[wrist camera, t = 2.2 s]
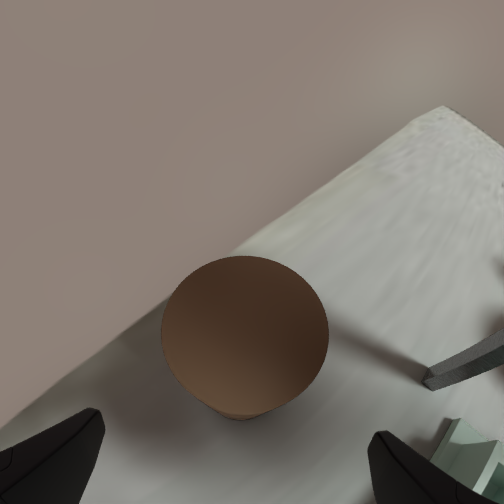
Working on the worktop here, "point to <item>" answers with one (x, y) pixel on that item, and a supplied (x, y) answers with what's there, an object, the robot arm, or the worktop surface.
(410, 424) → the worktop surface
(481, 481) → the socket block
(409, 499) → the robot arm
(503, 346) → the grey table frame
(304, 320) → the peg
